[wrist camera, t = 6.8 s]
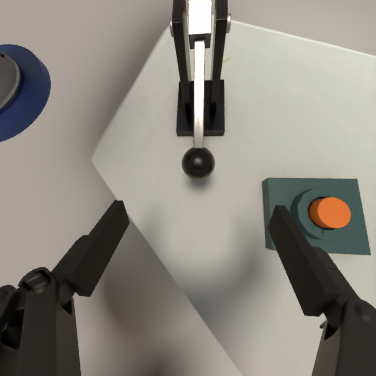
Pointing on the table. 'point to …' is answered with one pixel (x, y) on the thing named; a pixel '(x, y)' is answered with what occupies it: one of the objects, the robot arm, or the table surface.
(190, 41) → the lever
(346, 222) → the button
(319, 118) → the table surface
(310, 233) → the button block
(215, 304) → the table surface
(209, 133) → the bracket
